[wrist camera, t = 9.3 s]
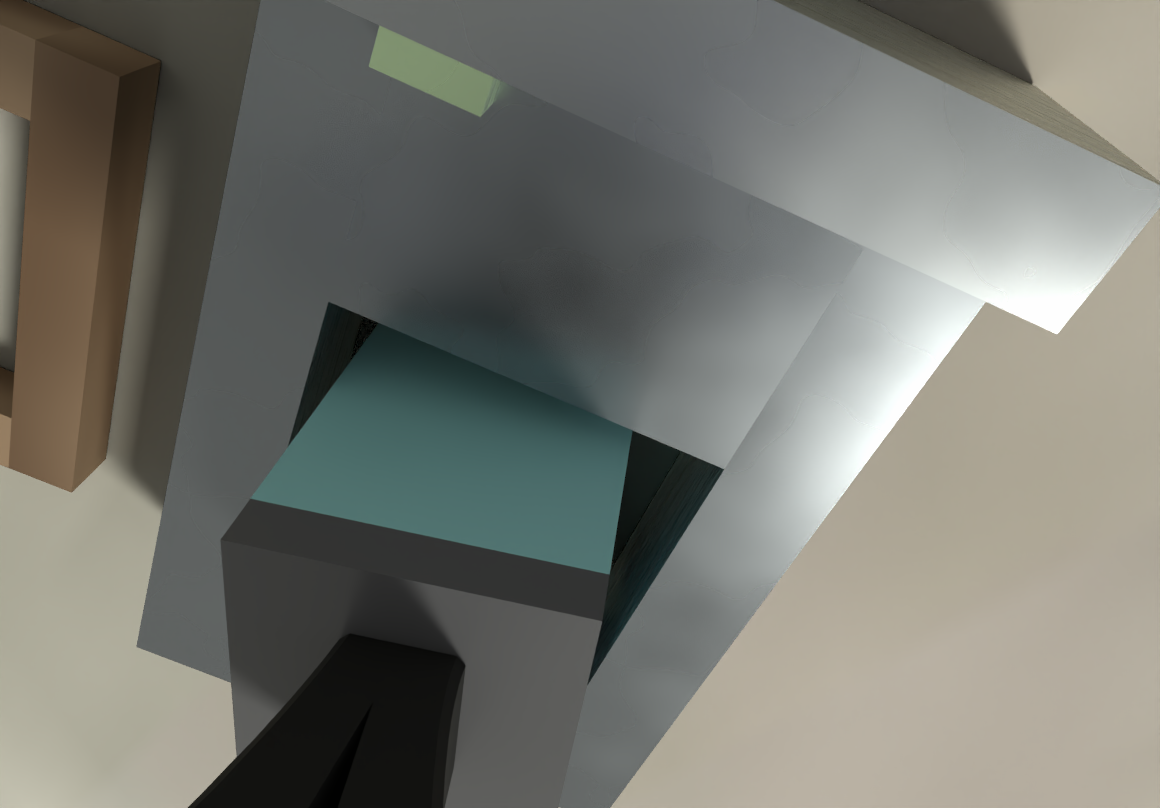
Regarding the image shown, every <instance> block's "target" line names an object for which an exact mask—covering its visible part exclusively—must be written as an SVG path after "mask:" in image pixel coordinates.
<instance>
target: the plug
mask: <svg viewBox="0 0 1160 808" xmlns="http://www.w3.org/2000/svg"><path fill="white" fill-rule="evenodd" d="M631 436H632V430H630V429H628V428H626V427H623V426H621V425H619V424H616V423H614V422H612V421H609V420H607V419H605V418H602V417H600V416H597V415H595V414H593V413H590V412H588V411H586V410H583V409H581V408H579V407H576V406H574V405H571V404H569V403H567V402H564V401H562V400H560V399H557V398H555V397H553V396H550V395H548V394H546V393H543V392H541V391H538V390H536V389H534V388H531V387H529V386H527V385H524V384H522V383H520V382H517V381H515V380H512V379H510V378H508V377H505V376H503V375H501V374H498V373H496V372H494V371H491V370H489V369H486V368H484V367H482V366H479V365H477V364H475V363H472V362H470V361H468V360H465V359H463V358H461V357H458V356H456V355H453V354H451V353H449V352H446V351H444V350H442V349H439V348H437V347H435V346H432V345H430V344H427V343H425V342H423V341H420V340H418V339H416V338H413V337H411V336H409V335H406V334H404V333H402V332H399V331H397V330H394V329H392V328H390V327H387V326H385V325H383V324H380V323H378V324H377V326H376V327H375V328H374V330H373V331H372V333H371V334H370V335H369V337H368V338H367V339H366V341H365V342H364V344H363V345H362V346H361V348H360V349H359V350H358V352H357V353H356V355H355V356H354V357H353V359H352V360H351V361H350V363H349V364H348V365H347V367H346V368H345V370H344V371H343V372H342V374H341V375H340V376H339V378H338V379H337V381H336V382H335V383H334V385H333V386H332V387H331V389H330V390H329V392H328V393H327V394H326V396H325V397H324V398H323V400H322V401H321V403H320V404H319V405H318V407H317V408H316V409H315V411H314V412H313V413H312V415H311V416H310V418H309V419H308V420H307V422H306V423H305V424H304V426H303V427H302V429H301V430H300V431H299V433H298V434H297V435H296V437H295V438H294V440H293V441H292V442H291V444H290V445H289V446H288V448H287V449H286V450H285V452H284V453H283V455H282V456H281V457H280V459H279V460H278V461H277V463H276V464H275V466H274V467H273V468H272V470H271V471H270V472H269V474H268V475H267V477H266V478H265V479H264V481H263V482H262V483H261V485H260V486H259V488H258V489H257V490H256V492H255V493H254V494H253V496H252V497H251V498H250V500H249V501H248V503H247V504H246V505H245V507H244V508H243V509H242V511H241V512H240V514H239V515H238V516H237V518H236V519H235V520H234V522H233V523H232V525H231V526H230V527H229V529H228V530H227V531H226V533H225V534H224V535H223V537H222V538H221V540H220V542H221V555H222V568H223V582H224V595H225V608H226V621H227V634H228V648H229V661H230V674H231V687H232V700H233V714H234V727H235V740H236V753H237V756H238V755H239V754H240V753H241V752H242V751H243V750H244V749H245V748H246V747H247V746H248V745H249V744H250V743H251V742H252V741H253V740H254V739H255V738H256V736H257V735H258V734H259V733H260V732H261V731H262V730H263V729H264V728H265V727H266V725H267V724H268V723H269V722H270V721H271V720H272V719H273V718H274V717H275V715H276V714H277V713H278V712H279V711H280V710H281V709H282V708H283V706H284V705H285V704H286V703H287V702H288V701H289V700H290V699H291V697H292V696H293V695H294V694H295V693H296V692H297V690H298V689H299V688H300V687H301V686H302V685H303V683H304V682H305V681H306V680H307V679H308V677H309V676H310V675H311V674H312V673H313V671H314V670H315V669H316V668H317V667H318V665H319V664H320V663H321V662H322V660H323V659H324V658H325V657H326V655H327V654H328V653H329V652H330V650H331V649H332V648H333V646H334V645H335V644H336V643H337V641H338V640H339V639H340V638H342V637H344V636H346V635H348V634H355V635H359V636H364V637H369V638H374V639H378V640H383V641H388V642H393V643H397V644H402V645H407V646H412V647H416V648H421V649H426V650H431V651H435V652H440V653H445V654H450V655H454V656H457V657H458V658H459V659H460V660H461V661H462V662H463V663H464V664H465V665H466V667H465V676H464V685H463V693H462V702H461V710H460V719H459V728H458V736H457V745H456V754H455V762H454V769H453V774H452V778H451V782H450V786H449V791H448V795H447V799H446V804H445V808H558V807H559V803H560V798H561V794H562V790H563V786H564V781H565V777H566V773H567V769H568V764H569V760H570V756H571V752H572V747H573V743H574V739H575V735H576V731H577V726H578V722H579V718H580V714H581V709H582V705H583V701H584V697H585V692H586V688H587V684H588V680H589V675H590V671H591V667H592V663H593V658H594V654H595V650H596V646H597V641H598V637H599V633H600V629H601V624H602V620H603V613H604V607H605V601H606V594H607V588H608V582H609V575H610V569H611V563H612V557H613V550H614V544H615V538H616V531H617V525H618V519H619V512H620V506H621V500H622V493H623V487H624V481H625V474H626V468H627V462H628V455H629V449H630V443H631Z"/></svg>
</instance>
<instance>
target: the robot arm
mask: <svg viewBox="0 0 1160 808" xmlns="http://www.w3.org/2000/svg"><path fill="white" fill-rule="evenodd" d="M465 667H466V665H465V664H464V663H463V662H462V661H461V660H460V659H459V658H458V657H457V656H454V655H450V654H445V653H440V652H435V651H431V650H426V649H421V648H416V647H412V646H407V645H402V644H397V643H393V642H388V641H383V640H378V639H374V638H369V637H364V636H359V635H355V634H348V635H346V636H344V637H342V638H340V639H339V640H338V641H337V643H336V644H335V645H334V646H333V648H332V649H331V650H330V652H329V653H328V654H327V655H326V657H325V658H324V659H323V660H322V662H321V663H320V664H319V665H318V667H317V668H316V669H315V670H314V671H313V673H312V674H311V675H310V676H309V677H308V679H307V680H306V681H305V682H304V683H303V685H302V686H301V687H300V688H299V689H298V690H297V692H296V693H295V694H294V695H293V696H292V697H291V699H290V700H289V701H288V702H287V703H286V704H285V705H284V706H283V708H282V709H281V710H280V711H279V712H278V713H277V714H276V715H275V717H274V718H273V719H272V720H271V721H270V722H269V723H268V724H267V725H266V727H265V728H264V729H263V730H262V731H261V732H260V733H259V734H258V735H257V736H256V738H255V739H254V740H253V741H252V742H251V743H250V744H249V745H248V746H247V747H246V748H245V749H244V750H243V751H242V752H241V753H240V754H239V755H238V756H237V757H236V758H235V760H234V761H233V762H232V763H231V764H230V765H229V766H228V767H227V768H226V769H225V770H224V771H223V772H222V773H221V774H220V775H219V776H218V777H217V778H216V779H215V780H214V781H213V783H212V784H211V785H210V786H209V787H208V788H207V789H206V790H205V791H204V792H203V793H202V794H201V795H200V796H199V797H198V798H197V799H196V800H195V801H194V802H193V803H192V804H191V805H190V806H189V807H188V808H445V804H446V799H447V795H448V791H449V786H450V782H451V778H452V774H453V769H454V762H455V754H456V745H457V736H458V728H459V719H460V710H461V702H462V693H463V685H464V676H465Z"/></svg>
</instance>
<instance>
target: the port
mask: <svg viewBox="0 0 1160 808" xmlns="http://www.w3.org/2000/svg"><path fill="white" fill-rule="evenodd" d="M1159 208H1160V181H1159V180H1157V179H1156V178H1155V177H1153V176H1152V175H1151V174H1149V173H1148V172H1147V171H1145V170H1144V169H1143V168H1142V167H1140V166H1139V165H1138V164H1136V163H1135V162H1134V161H1132V160H1131V159H1130V158H1129V157H1127V156H1126V155H1125V154H1123V153H1122V152H1121V151H1119V150H1118V149H1117V148H1115V147H1114V146H1113V145H1112V144H1110V143H1109V142H1108V141H1106V140H1105V139H1104V138H1102V137H1101V136H1100V135H1099V134H1097V133H1096V132H1095V131H1093V130H1092V129H1091V128H1089V127H1088V126H1087V125H1085V124H1084V123H1083V122H1082V121H1080V120H1079V119H1078V118H1076V117H1075V116H1074V115H1072V114H1071V113H1070V112H1069V111H1067V110H1066V109H1065V108H1063V107H1062V106H1061V105H1059V104H1058V103H1057V102H1055V101H1054V100H1053V99H1052V98H1050V97H1049V96H1048V95H1046V94H1045V93H1044V92H1042V91H1041V90H1040V89H1039V88H1037V87H1036V86H1034V85H1032V84H1030V83H1028V82H1026V81H1023V80H1021V79H1019V78H1017V77H1015V76H1013V75H1011V74H1009V73H1007V72H1005V71H1003V70H1001V69H999V68H997V67H994V66H992V65H990V64H988V63H986V62H984V61H982V60H980V59H978V58H976V57H974V56H972V55H970V54H968V53H965V52H963V51H961V50H959V49H957V48H955V47H953V46H951V45H949V44H947V43H945V42H943V41H941V40H939V39H936V38H934V37H932V36H930V35H928V34H926V33H924V32H922V31H920V30H918V29H916V28H914V27H912V26H910V25H907V24H905V23H903V22H901V21H899V20H897V19H895V18H893V17H891V16H889V15H887V14H885V13H883V12H881V11H878V10H876V9H874V8H872V7H870V6H868V5H866V4H864V3H862V2H860V1H858V0H261V1H260V6H259V11H258V16H257V22H256V27H255V32H254V37H253V42H252V48H251V53H250V58H249V63H248V68H247V74H246V79H245V84H244V89H243V94H242V100H241V105H240V110H239V115H238V120H237V126H236V131H235V136H234V141H233V147H232V152H231V157H230V162H229V167H228V173H227V178H226V183H225V188H224V193H223V199H222V204H221V209H220V214H219V219H218V225H217V230H216V235H215V240H214V245H213V251H212V256H211V261H210V266H209V272H208V277H207V282H206V287H205V292H204V298H203V303H202V308H201V313H200V318H199V324H198V329H197V334H196V339H195V344H194V350H193V355H192V360H191V365H190V370H189V376H188V381H187V386H186V391H185V397H184V402H183V407H182V412H181V417H180V423H179V428H178V433H177V438H176V443H175V449H174V454H173V459H172V464H171V469H170V475H169V480H168V485H167V490H166V495H165V501H164V506H163V511H162V516H161V522H160V527H159V532H158V537H157V542H156V548H155V553H154V558H153V563H152V568H151V574H150V579H149V584H148V589H147V594H146V600H145V605H144V610H143V615H142V620H141V626H140V631H139V636H138V641H137V647H138V648H141V649H144V650H146V651H149V652H152V653H154V654H157V655H159V656H162V657H165V658H167V659H170V660H173V661H175V662H178V663H181V664H183V665H186V666H188V667H191V668H194V669H196V670H199V671H202V672H204V673H207V674H210V675H212V676H215V677H217V678H220V679H223V680H225V681H228V682H231V674H230V661H229V648H228V634H227V621H226V608H225V595H224V582H223V568H222V555H221V542H220V540H221V538H222V537H223V535H224V534H225V533H226V531H227V530H228V529H229V527H230V526H231V525H232V523H233V522H234V520H235V519H236V518H237V516H238V515H239V514H240V512H241V511H242V509H243V508H244V507H245V505H246V504H247V503H248V501H249V500H250V498H251V497H252V496H253V494H254V493H255V492H256V490H257V489H258V488H259V486H260V485H261V483H262V482H263V481H264V479H265V478H266V477H267V475H268V474H269V472H270V471H271V470H272V468H273V467H274V466H275V464H276V463H277V461H278V460H279V459H280V457H281V456H282V455H283V453H284V452H285V450H286V449H287V448H288V446H289V445H290V444H291V442H292V441H293V440H294V438H295V437H296V435H297V434H298V433H299V431H300V430H301V429H302V427H303V426H304V424H305V423H306V422H307V420H308V419H309V418H310V416H311V415H312V413H313V412H314V411H315V409H316V408H317V407H318V405H319V404H320V403H321V401H322V400H323V398H324V397H325V396H326V394H327V393H328V392H329V390H330V389H331V387H332V386H333V385H334V383H335V382H336V381H337V379H338V378H339V376H340V375H341V374H342V372H343V371H344V370H345V368H346V367H347V365H348V364H349V361H350V358H351V355H352V351H353V348H354V345H355V342H356V339H357V335H358V332H359V329H360V326H361V322H362V319H363V316H364V317H366V318H368V319H371V320H373V321H376V322H378V323H380V324H383V325H385V326H387V327H390V328H392V329H394V330H397V331H399V332H402V333H404V334H406V335H409V336H411V337H413V338H416V339H418V340H420V341H423V342H425V343H427V344H430V345H432V346H435V347H437V348H439V349H442V350H444V351H446V352H449V353H451V354H453V355H456V356H458V357H461V358H463V359H465V360H468V361H470V362H472V363H475V364H477V365H479V366H482V367H484V368H486V369H489V370H491V371H494V372H496V373H498V374H501V375H503V376H505V377H508V378H510V379H512V380H515V381H517V382H520V383H522V384H524V385H527V386H529V387H531V388H534V389H536V390H538V391H541V392H543V393H546V394H548V395H550V396H553V397H555V398H557V399H560V400H562V401H564V402H567V403H569V404H571V405H574V406H576V407H579V408H581V409H583V410H586V411H588V412H590V413H593V414H595V415H597V416H600V417H602V418H605V419H607V420H609V421H612V422H614V423H616V424H619V425H621V426H623V427H626V428H628V429H630V430H633V431H635V432H638V433H640V434H642V435H645V436H647V437H649V438H652V439H654V440H656V441H659V442H661V443H664V444H666V445H668V446H671V447H673V448H675V449H678V450H680V451H681V452H680V454H679V455H678V457H677V459H676V461H675V462H674V464H673V466H672V467H671V469H670V471H669V472H668V474H667V476H666V477H665V479H664V481H663V483H662V484H661V486H660V488H659V489H658V491H657V493H656V494H655V496H654V498H653V499H652V501H651V503H650V505H649V506H648V508H647V510H646V511H645V513H644V515H643V516H642V518H641V520H640V522H639V523H638V525H637V527H636V528H635V530H634V532H633V533H632V535H631V537H630V538H629V540H628V542H627V544H626V545H625V547H624V549H623V550H622V552H621V554H620V555H619V557H618V559H617V560H616V562H615V564H614V566H613V567H612V569H611V571H610V575H609V582H608V588H607V594H606V601H605V607H604V613H603V620H602V624H601V629H600V633H599V637H598V641H597V646H596V650H595V654H594V658H593V663H592V667H591V671H590V675H589V680H588V684H587V688H586V692H585V697H584V701H583V705H582V709H581V714H580V718H579V722H578V726H577V731H576V735H575V739H574V743H573V747H572V752H571V756H570V760H569V764H568V769H567V773H566V777H565V781H564V786H563V790H562V794H561V798H560V803H559V807H560V808H610V807H611V806H612V804H613V803H614V802H615V800H616V799H617V798H618V796H619V795H620V794H621V792H622V791H623V790H624V788H625V787H626V786H627V784H628V783H629V782H630V780H631V779H632V778H633V776H634V775H635V773H636V772H637V771H638V769H639V768H640V767H641V765H642V764H643V763H644V761H645V760H646V759H647V757H648V756H649V755H650V753H651V752H652V751H653V749H654V748H655V747H656V745H657V744H658V743H659V741H660V740H661V738H662V737H663V736H664V734H665V733H666V732H667V730H668V729H669V728H670V726H671V725H672V724H673V722H674V721H675V720H676V718H677V717H678V716H679V714H680V713H681V712H682V710H683V709H684V707H685V706H686V705H687V703H688V702H689V701H690V699H691V698H692V697H693V695H694V694H695V693H696V691H697V690H698V689H699V687H700V686H701V685H702V683H703V682H704V681H705V679H706V678H707V677H708V675H709V674H710V672H711V671H712V670H713V668H714V667H715V666H716V664H717V663H718V662H719V660H720V659H721V658H722V656H723V655H724V654H725V652H726V651H727V650H728V648H729V647H730V646H731V644H732V643H733V641H734V640H735V639H736V637H737V636H738V635H739V633H740V632H741V631H742V629H743V628H744V627H745V625H746V624H747V623H748V621H749V620H750V619H751V617H752V616H753V615H754V613H755V612H756V611H757V609H758V608H759V606H760V605H761V604H762V602H763V601H764V600H765V598H766V597H767V596H768V594H769V593H770V592H771V590H772V589H773V588H774V586H775V585H776V584H777V582H778V581H779V580H780V578H781V577H782V575H783V574H784V573H785V571H786V570H787V569H788V567H789V566H790V565H791V563H792V562H793V561H794V559H795V558H796V557H797V555H798V554H799V553H800V551H801V550H802V549H803V547H804V546H805V545H806V543H807V542H808V540H809V539H810V538H811V536H812V535H813V534H814V532H815V531H816V530H817V528H818V527H819V526H820V524H821V523H822V522H823V520H824V519H825V518H826V516H827V515H828V514H829V512H830V511H831V509H832V508H833V507H834V505H835V504H836V503H837V501H838V500H839V499H840V497H841V496H842V495H843V493H844V492H845V491H846V489H847V488H848V487H849V485H850V484H851V483H852V481H853V480H854V479H855V477H856V476H857V474H858V473H859V472H860V470H861V469H862V468H863V466H864V465H865V464H866V462H867V461H868V460H869V458H870V457H871V456H872V454H873V453H874V452H875V450H876V449H877V448H878V446H879V445H880V443H881V442H882V441H883V439H884V438H885V437H886V435H887V434H888V433H889V431H890V430H891V429H892V427H893V426H894V425H895V423H896V422H897V421H898V419H899V418H900V417H901V415H902V414H903V413H904V411H905V410H906V408H907V407H908V406H909V404H910V403H911V402H912V400H913V399H914V398H915V396H916V395H917V394H918V392H919V391H920V390H921V388H922V387H923V386H924V384H925V383H926V382H927V380H928V379H929V377H930V376H931V375H932V373H933V372H934V371H935V369H936V368H937V367H938V365H939V364H940V363H941V361H942V360H943V359H944V357H945V356H946V355H947V353H948V352H949V351H950V349H951V348H952V347H953V345H954V344H955V342H956V341H957V340H958V338H959V337H960V336H961V334H962V333H963V332H964V330H965V329H966V328H967V326H968V325H969V324H970V322H971V321H972V320H973V318H974V317H975V316H976V314H977V313H978V311H979V310H980V309H981V307H982V306H983V305H984V303H985V302H988V303H990V304H992V305H994V306H996V307H999V308H1001V309H1003V310H1005V311H1007V312H1010V313H1012V314H1014V315H1016V316H1018V317H1021V318H1023V319H1025V320H1027V321H1029V322H1032V323H1034V324H1036V325H1038V326H1040V327H1043V328H1045V329H1047V330H1049V331H1051V332H1054V333H1056V334H1058V332H1059V331H1060V330H1061V329H1062V327H1063V326H1064V325H1065V324H1066V322H1067V321H1068V320H1069V319H1070V318H1071V316H1072V315H1073V314H1074V313H1075V311H1076V310H1077V309H1078V308H1079V306H1080V305H1081V304H1082V303H1083V301H1084V300H1085V299H1086V298H1087V297H1088V295H1089V294H1090V293H1091V292H1092V290H1093V289H1094V288H1095V287H1096V285H1097V284H1098V283H1099V282H1100V281H1101V279H1102V278H1103V277H1104V276H1105V274H1106V273H1107V272H1108V271H1109V269H1110V268H1111V267H1112V266H1113V264H1114V263H1115V262H1116V261H1117V260H1118V258H1119V257H1120V256H1121V255H1122V253H1123V252H1124V251H1125V250H1126V248H1127V247H1128V246H1129V245H1130V244H1131V242H1132V241H1133V240H1134V239H1135V237H1136V236H1137V235H1138V234H1139V232H1140V231H1141V230H1142V229H1143V228H1144V226H1145V225H1146V224H1147V223H1148V221H1149V220H1150V219H1151V218H1152V216H1153V215H1154V214H1155V213H1156V211H1157V210H1158V209H1159Z"/></svg>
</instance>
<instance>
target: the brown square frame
mask: <svg viewBox="0 0 1160 808" xmlns="http://www.w3.org/2000/svg"><path fill="white" fill-rule="evenodd" d="M160 65H161V61H160V60H157V59H155V58H153V57H151V56H148V55H146V54H144V53H142V52H139V51H137V50H135V49H133V48H130V47H128V46H126V45H124V44H121V43H119V42H117V41H114V40H112V39H110V38H108V37H105V36H103V35H101V34H99V33H96V32H94V31H92V30H90V29H87V28H85V27H83V26H80V25H78V24H76V23H74V22H71V21H69V20H67V19H65V18H62V17H60V16H58V15H56V14H53V13H51V12H49V11H46V10H44V9H42V8H40V7H37V6H35V5H33V4H31V3H28V2H26V1H24V0H0V108H1V109H4V110H6V111H8V112H11V113H13V114H15V115H18V116H20V117H22V118H25V119H27V120H29V121H30V132H29V148H28V164H27V180H26V196H25V212H24V228H23V244H22V260H21V276H20V292H19V308H18V323H17V339H16V355H15V371H14V373H13V372H11V371H8V370H6V369H3V368H1V367H0V465H3V466H5V467H8V468H10V469H13V470H16V471H18V472H21V473H23V474H26V475H28V476H31V477H33V478H36V479H38V480H41V481H44V482H46V483H49V484H51V485H54V486H56V487H59V488H61V489H64V490H67V491H69V492H73V491H74V490H75V489H76V488H77V487H78V486H79V485H80V484H81V483H82V482H83V481H84V480H85V479H86V478H87V477H88V476H89V475H90V474H91V473H92V472H93V471H94V470H95V469H96V468H97V467H98V466H99V465H100V464H101V463H102V462H103V461H104V460H105V459H106V453H107V446H108V439H109V431H110V424H111V417H112V410H113V403H114V396H115V388H116V381H117V374H118V367H119V360H120V352H121V345H122V338H123V331H124V324H125V316H126V309H127V302H128V295H129V288H130V281H131V273H132V266H133V259H134V252H135V245H136V237H137V230H138V223H139V216H140V209H141V202H142V194H143V187H144V180H145V173H146V166H147V158H148V151H149V144H150V137H151V130H152V122H153V115H154V108H155V101H156V94H157V87H158V79H159V72H160Z"/></svg>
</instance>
